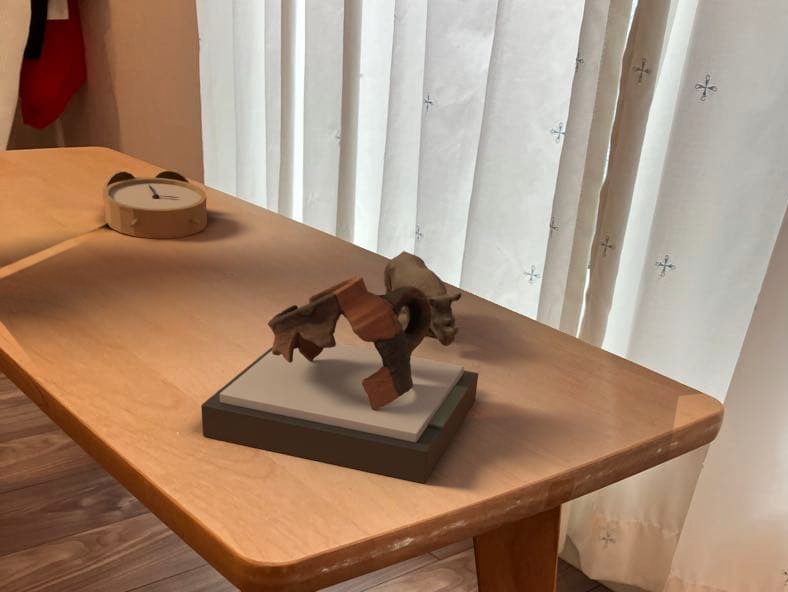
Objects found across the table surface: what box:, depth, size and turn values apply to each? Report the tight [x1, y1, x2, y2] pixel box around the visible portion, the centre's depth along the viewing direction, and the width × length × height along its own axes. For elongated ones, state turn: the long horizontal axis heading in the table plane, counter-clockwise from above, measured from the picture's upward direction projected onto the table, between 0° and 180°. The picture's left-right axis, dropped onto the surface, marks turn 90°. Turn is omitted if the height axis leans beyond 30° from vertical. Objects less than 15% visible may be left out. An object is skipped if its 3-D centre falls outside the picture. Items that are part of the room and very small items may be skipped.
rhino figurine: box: [383, 250, 462, 347], centre depth 83 cm, size 4×14×6 cm, turn 21°
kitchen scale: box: [200, 341, 479, 484], centre depth 68 cm, size 16×14×3 cm
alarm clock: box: [101, 169, 208, 239], centre depth 108 cm, size 11×5×15 cm
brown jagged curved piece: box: [267, 276, 432, 410], centre depth 66 cm, size 12×10×8 cm
